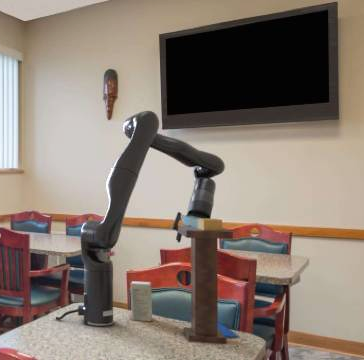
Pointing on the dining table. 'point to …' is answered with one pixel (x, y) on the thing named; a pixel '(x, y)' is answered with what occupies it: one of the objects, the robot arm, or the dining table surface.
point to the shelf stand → (204, 283)
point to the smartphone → (226, 331)
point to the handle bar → (203, 223)
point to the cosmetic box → (141, 301)
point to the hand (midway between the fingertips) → (192, 245)
